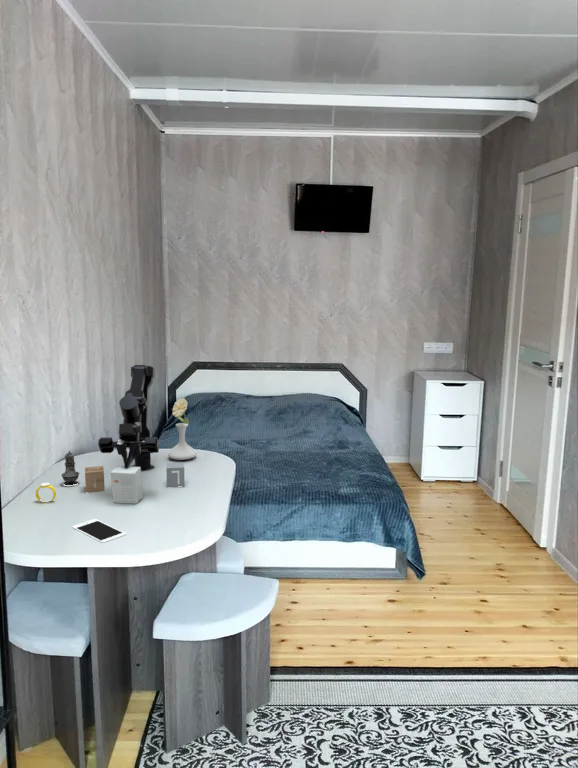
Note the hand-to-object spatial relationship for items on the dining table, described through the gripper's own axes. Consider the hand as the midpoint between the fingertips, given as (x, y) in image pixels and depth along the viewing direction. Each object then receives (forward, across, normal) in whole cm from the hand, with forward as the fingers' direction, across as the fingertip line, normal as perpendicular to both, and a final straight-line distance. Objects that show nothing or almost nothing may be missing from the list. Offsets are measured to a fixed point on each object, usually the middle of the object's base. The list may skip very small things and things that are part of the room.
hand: (126, 467), depth 192 cm
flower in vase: (-26, +14, +40) cm, 49 cm away
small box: (+7, 0, +8) cm, 11 cm away
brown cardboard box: (-1, -13, +16) cm, 21 cm away
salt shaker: (-5, -22, +20) cm, 30 cm away
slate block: (-4, +14, +18) cm, 23 cm away
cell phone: (+25, -4, -7) cm, 26 cm away
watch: (+7, -25, +9) cm, 28 cm away
